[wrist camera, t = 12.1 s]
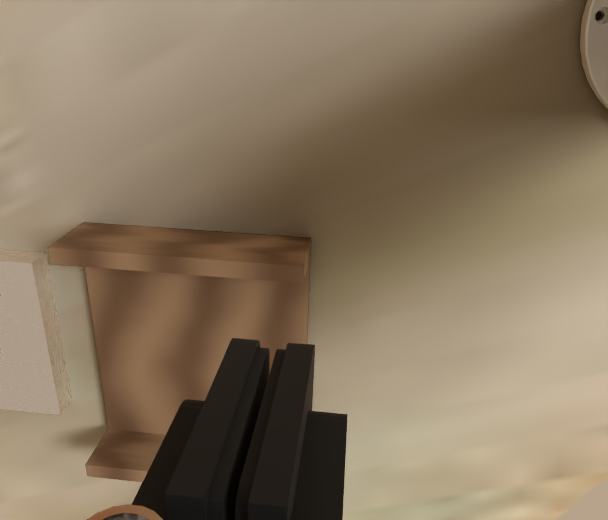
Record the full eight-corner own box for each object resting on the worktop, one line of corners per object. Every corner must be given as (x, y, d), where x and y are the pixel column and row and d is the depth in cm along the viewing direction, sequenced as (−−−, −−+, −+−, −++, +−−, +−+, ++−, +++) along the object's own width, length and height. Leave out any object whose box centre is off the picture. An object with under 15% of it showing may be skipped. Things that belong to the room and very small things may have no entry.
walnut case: (311, 237, 39) (304, 266, 34) (302, 452, 47) (295, 498, 42) (83, 222, 40) (47, 247, 35) (113, 433, 48) (87, 475, 44)
